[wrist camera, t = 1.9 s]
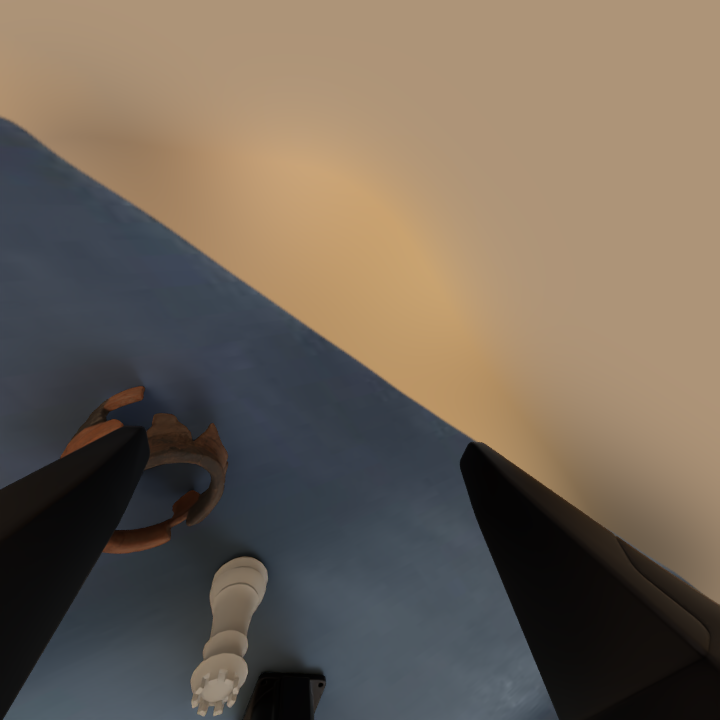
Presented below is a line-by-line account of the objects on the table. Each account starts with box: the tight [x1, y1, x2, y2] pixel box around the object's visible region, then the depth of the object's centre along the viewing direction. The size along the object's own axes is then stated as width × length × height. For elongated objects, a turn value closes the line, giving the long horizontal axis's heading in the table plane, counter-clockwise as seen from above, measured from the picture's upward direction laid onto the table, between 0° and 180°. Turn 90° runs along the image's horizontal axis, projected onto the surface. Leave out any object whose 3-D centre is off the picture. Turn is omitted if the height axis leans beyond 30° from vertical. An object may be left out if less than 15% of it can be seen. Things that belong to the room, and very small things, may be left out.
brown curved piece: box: [60, 386, 228, 554], centre depth 18 cm, size 12×10×8 cm
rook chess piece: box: [190, 556, 268, 716], centre depth 20 cm, size 4×4×8 cm
